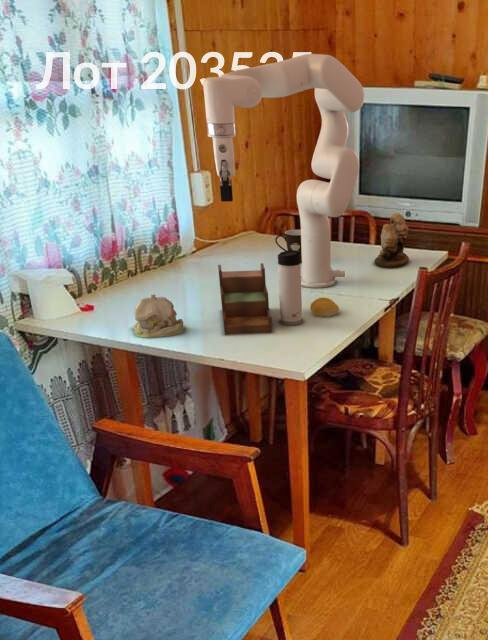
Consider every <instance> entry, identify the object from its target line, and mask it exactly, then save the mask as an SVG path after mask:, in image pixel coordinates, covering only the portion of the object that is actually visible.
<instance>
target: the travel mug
mask: <svg viewBox="0 0 488 640" xmlns="http://www.w3.org/2000/svg"><path fill="white" fill-rule="evenodd" d="M300 255H301V251H297V250H291V251H288V250H287V251H284V250H283V251H281V252H280V253H278V254H277V270H278V272H277V274H278V275H277V276H278V294H279V295H278V296H279V297H278V299H279V316H280V317H279V318H280V320H279V321H280V323H282V325H285V326H296V325H297V326H298V325H300V324H302V323H303V304H302V303H303V301H302V299H303V298H302V285H301V276H302V263H300Z"/></svg>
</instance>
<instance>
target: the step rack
mask: <svg viewBox="0 0 488 640" xmlns="http://www.w3.org/2000/svg"><path fill="white" fill-rule="evenodd" d="M217 267H218V268H217V269H218V277H219V278H218V282H219V291H220V301H221V302H220V303H221V313H222V321H223V332H224V335H225V336H226V335H228V336H229V335H246V334H247V335H249V334H264V333H265V334H269V333H272V332H273V330H272V329H273V326H272V325H273V324H272V315H271V312H270V303H269V292H268V288H267V283H266V282H267V281H266V268H265V265H264V263H263V262H261V263H260V270H259V269H258V270H231V271H227V270H226V271H222V265H221V264H217Z"/></svg>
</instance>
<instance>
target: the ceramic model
mask: <svg viewBox="0 0 488 640" xmlns="http://www.w3.org/2000/svg"><path fill="white" fill-rule="evenodd" d="M174 308H175V306H174V304H173V302H172V301H171V300H169V299H168V298H167V297H166V296H156V294H150V297H142V298H140V300H139V302H138V303H137V305H136V306H134V309H133V313H134V314H133V315H134V320H135V321H136V323H135V324H134V325H133V326H132V329H133V330H134V334H135V336H137V337H141V338H146V339H149V338H162V337H170V336H171V337H172V336H177V335H180V334H182V333H183V332H184V330H185V326H184V325H185V323H184V320H183V319H182V318H178V319H177V314H178V313H177V311H176V310H175V309H174Z"/></svg>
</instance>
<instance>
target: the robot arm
mask: <svg viewBox="0 0 488 640" xmlns="http://www.w3.org/2000/svg"><path fill="white" fill-rule="evenodd" d="M202 84H203V85H202V87H203V98H204V109H205V118H206V131H207V137H208V138H212V147H213V155H214V163H215V169H216V174H217V177H219V184H220V185H219V190H220V202H233V200H234V197H233V196H234V195H233V184H232V178H235V177H236V163H235V151H234V149H235V148H234V142H233V138H235V137H237V131H236V120H235V119H236V117H235V108H241V109H252V108H255V107H256V106H258V105H259V104H260V102H261V101H262V98H267V99H268V98H269V99H275V98H284V97H289V96H292V95H294V94H297V93H301V92H303V91H307V90H310V89H314V100H315V102H316V104H317V107H318V110H319V113H320V116H321V117H320V118H321V127H320V131H319V136H318V138H317V142H316V145H315V147H314V152H313V155H312V159H311V171H312V173H314V174H315V175H316V176H317V177H320V178H322V179H326V180H327V179H328V180H330V181H329V182H327V181H323V180H318V179H307V180H304V181H302V182H301V183H300V184H299V186H298V188H297V189H296V204H297V209H298V213H299V214H298V215H299V220H300V221H299V222H300V230H301V253H302V263H301V287H305V288H316V289H317V288H327V287H331V286H333V285H335V284H336V278H345V276H346V272H345V270H340V269H336V270H335V269H333V268H332V267H331V224H330V223H331V222H330V219H329V218H339V217H341V216H342V215H343V214H344V213H345V212H346V210H347V209H348V206H349V204H350V200H351V197H352V195H353V192H354V188H355V185H356V182H357V179H358V175H359V171H360V160H359V155H358V154H357V153H356V151H354V150H353V149H352V148H350V147H346V145H347V141H348V138H349V123H348V120H347V117H346V114H345V113H355V112H358V111H359V110H360V109H362V107H363V105H364V102H365V89H364V87H363V85H362V84H361V82H360V81H359V80H358V79H357V77H356V76H355V75H354V74H353V73H352V72H351V71H350V70H348V68H347V67H346V66H345V65H344V64H343V63H342V62H341V61H339V60H338V59H337V58H336V57H334V56H332V55H330V54H321V53H305V54H301V55H298V56H295V57H291V58H288V59H284V60H280V61H277V62H272V63H266V64H262V65H257V66H252V67H251V66H250V67H246V68H241V69H237V70H233V71H230V72H227V73H223V74H221V75H220V76H209V77H206V78H205V79H204V80H203V83H202ZM231 176H232V178H231Z"/></svg>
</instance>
